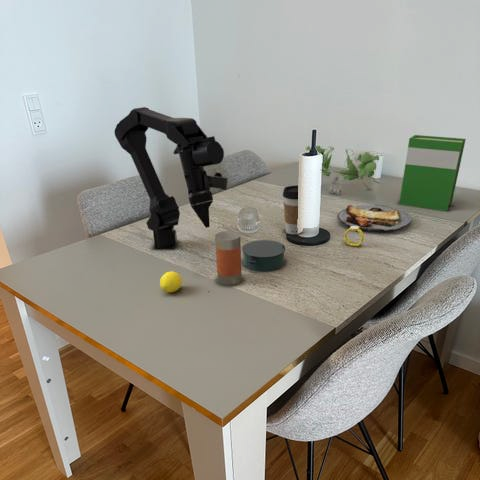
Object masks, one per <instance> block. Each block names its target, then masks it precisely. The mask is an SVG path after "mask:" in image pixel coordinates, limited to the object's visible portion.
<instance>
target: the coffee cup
mask: <svg viewBox="0 0 480 480" xmlns="http://www.w3.org/2000/svg"><path fill="white" fill-rule="evenodd" d="M282 197H283V212H284V224H285V228H284V229H285V233H286V234H288V235H294V236H296V235H299V234H298V233H297V232H296V231H297V219H298V185H288V186H285V187H284V188H283V191H282ZM292 231H293V232H292Z"/></svg>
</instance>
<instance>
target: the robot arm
mask: <svg viewBox="0 0 480 480" xmlns="http://www.w3.org/2000/svg"><path fill="white" fill-rule="evenodd" d="M149 129H151V130H155V131H156V132H160V133H163V134H164V135H165V136H166V138H167V139H168V140H169V141H170V142H172V143H174V144H175V145H176V146H175V148H174V150H173V155H179V156H178V157H179V160H180V164H181V167H182V171H183V176H184V180H185V183H186V187H187V195H188V202H189V205H190V207H191V208H192V210H193V211H194V213H195V214H196V215H197V217H198V219H199V221H201V223H202V224H203V226H204V227H205V228H206V229H207V228H210V227H211V226H210V207H211V206H212V203H214V197H213V196H214V195H213V193H212V191H211V188H213V189H219V190H222V191H226V190H227V187H228V179H229V178H228V177H225V176H223V175H222V173H221V172H217V171H216V172H215V173H214V174H213V175H212V174H208V173H207V170H205V167H208V166H209V167H210V166H216V165H219V164H221V163H222V162H223V160H224V156H225V151H224V148H223V147H222V145H221V143H220V142H218V141H217V140H216V138H215V136H209V137H208V136H207V134H206V133H205V132H204V131H203V129H202V128H201V127H200V126H199V125H198V122H197V120H195V119H194V118H192V117H172V116H170V115H166V114H163V113H162V112H161V113H160V112H159V111H155V110H152V109H150V108H148V107H146V106H142V107H135V108H133V109H132V110H130V111H129V113H128V114H127V115H126V116H125V117H123V118H122V119H121V120H120V121H118V123H117V124H116V125H115V128H114V131H113V133H114V136H115V138H116V141H117V142H118V144H119V146H120V148H122V149H123V150H124V151H125V152H126V153H128V154H129V155H130V157H131V159H132V161H133V164H134V166H135V168H136V170H137V173H138V175H139V178H140V179H141V182H142V184H143V186H144V188H145V191H146V193H147V196H148V197H149V209H148V210H149V213H150V216H149V218H148V220H147V221H146V226H147V229H148V230H150V231H152V233H153V234H152V235H153V241H154V245H153V249H154V250H157V249H158V250H173V249H174V248H175V246H176V245H177V243H178V235H177V230H176V229H175V226H178V225H179V221H180V215H181V212H180V207H179V206H178V203H177V201H176V198H175V197H174V196H173V195H172V196H169V195H168V194H166V192H165V190H164V187H163V185H162V182H161V181H160V178H159V176H158V173H157V171H156V168H155V166H154V164H153V162H152V159H151V157H150V154H149V153H148V150H147V148H146V147H147V139H148V138H147V134H146V133H147V131H148V130H149Z"/></svg>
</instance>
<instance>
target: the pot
mask: <svg viewBox="0 0 480 480" xmlns="http://www.w3.org/2000/svg"><path fill="white" fill-rule="evenodd" d="M285 252H286V246H285V245H284V243H282V242H279V241H276V240H272V239H271V240H270V239H257V240H252V241H249V242H247V243H245V244H243V245H242V246H241V253H242V256H243V257H242V259H243V262H242V264H243V266H244V267H245V268H247V269H249V270H252V271H256V272H271V271H275V270H278V269H280V268H282V267H283V266H284V264H285Z"/></svg>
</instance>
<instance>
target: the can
mask: <svg viewBox="0 0 480 480" xmlns="http://www.w3.org/2000/svg"><path fill="white" fill-rule="evenodd" d="M214 241H215V242H214V243H215V261H216V276H217V278H216V279H217V282H218V283H219V284H220V285H223V286H236V285H238V284H240V283H241V282H242V244H241V233H239V232H238V231H234V230H224V231H220V232H217V233H215V236H214Z"/></svg>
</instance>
